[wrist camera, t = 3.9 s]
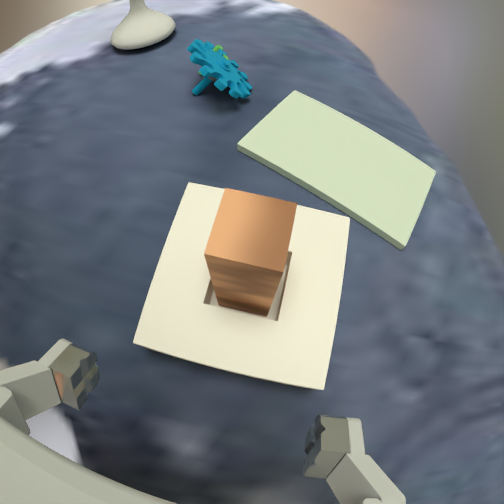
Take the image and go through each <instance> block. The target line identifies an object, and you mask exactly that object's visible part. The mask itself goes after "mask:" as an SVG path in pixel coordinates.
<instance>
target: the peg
mask: <svg viewBox="0 0 504 504" xmlns="http://www.w3.org/2000/svg"><path fill="white" fill-rule="evenodd" d="M296 208H297V203H293V202H289V201H285V200H280V199H276V198H271V197H266V196H262V195H257V194H252V193H248V192H243V191H238V190H233V189H228V188H225V190H224V193H223V196H222V199H221V202H220V205H219V208H218V211H217V214H216V218H215V221H214V224H213V227H212V230H211V233H210V236H209V239H208V242H207V246H206V249H205V252H204V256H205V259H206V263H207V267H208V270H209V274H210V277H211V281H212V284H213V288H214V291H215V295H216V298H217V302H218V305H219V306H222V307H226V308H230V309H234V310H238V311H243V312H247V313H251V314H255V315H260V316H264V317H267V315H268V312H269V310H270V307H271V305H272V302H273V299H274V297H275V294H276V291H277V289H278V286H279V283H280V280H281V278H282V275H283V272H284V268H285V263H286V258H287V253H288V248H289V244H290V239H291V234H292V229H293V224H294V219H295V213H296Z"/></svg>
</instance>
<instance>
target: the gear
mask: <svg viewBox="0 0 504 504" xmlns="http://www.w3.org/2000/svg"><path fill="white" fill-rule="evenodd" d="M213 48H214V45H213V44H211V43H210V42H208V41H207V42H206V43H203V42H202V41H201V40H198V39H196V40H195V41H194V42H193V43H192V44H191V45H190V46H189V47H188V48H187V50H188V51H189V52H191V53H193V54H192V55H191V56H190V60H191V61H192V62H193V63H195V64H199V65H201V66H203V67H202V68H201V69H200V70H199V74H200V75H203V77H205V78H204V79H203V80H202V81H201V82H200V83H199V84H198V85H197V86H196V87H195V88H194V89H193V90H192V92H193V93H194V94H195V95H198V94H199V93H200V92H201V91H203V90H204V89H205V88H206V87H207V86H208V85H209V84H210V83H211V82H212V81H214V82H215V81H216V82H215V83H214V85H215V86H216V87H217V88H218V89H219V90H220V91H223V90H224V89H225V88H226V87H227V86H229V87H230V89H231V90H230V91H229V94H230V95H231V96H232V97H234V98H236V99H237V98H238V97H240V96H241V98H247V97H248V96H249V95H251V94H250V92H249V90H250V89H252V86H251V85H250V84H249V83H248V82H246V80H247V79H248V78H247V75H246V74H245V73H244V72H241V71H239V70H237V68H238V67H239V65H238V64H237V63H236V62H235V61H234V60H232V61H230V60H229V58H228V57H227V56H226V55H227V54H226V53H225V52H224V51H223V48H222V47H221V46H220V45H217V46H216V47H215V48H214V49H213Z"/></svg>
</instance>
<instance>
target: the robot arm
mask: <svg viewBox="0 0 504 504" xmlns="http://www.w3.org/2000/svg"><path fill="white" fill-rule="evenodd" d="M96 362H97V356H96V354H95V353H94V352H92V351H89V350H87V349H85V348H83V347H81V346H78V345H76V344H74V343H72V342H69V341H67V340H65V339H60V340H59V341H58V342H57V343H56V344H55V345H54V346H53V347H52V348H51V349H50V350H49V351H48V352H47V353H46V354H45V355H44V356H43V357H42V358H41V359H40V360H39V361H38V362H37V361H31V362H28V363H24V364H21V365H17V366H14V367H10V368H7V369H3V370H0V504H177V503H173V502H170V501H167V500H164V499H161V498H158V497H155V496H152V495H149V494H147V493H144V492H141V491H138V490H136V489H133V488H131V487H128V486H126V485H123V484H121V483H118V482H116V481H114V480H111V479H109V478H107V477H104V476H102V475H100V474H98V473H96V472H94V471H91V470H89V469H87V468H85V467H83V466H81V465H79V464H77V463H75V462H73V461H71V460H70V459H68V458H66V457H64V456H62V455H60V454H58V453H57V452H55V451H53V450H51V449H50V448H48V447H46V446H45V445H43V444H41V443H40V442H38V441H36V440H35V439H33V438H31V437H30V436H29V434H30V429H29V428H28V425H27V423H26V421H25V420H26V419H29V418H31V417H33V416H35V415H37V414H39V413H41V412H43V411H45V410H47V409H50V408H52V407H54V406H56V405H58V404H60V403H61V402H63V403H65V404H67V405H69V406H71V407H73V408H76V409H78V410H80V408H81V407H82V406H83V404H84V403H85V401H86V400H87V393H89V392H92V391H93V390H94V389H95V387H96V386H97V383H98V380H99V369H98V367H97V366H96V364H95V363H96ZM305 452H306V453H307V457H306V459H305V460H304V474H303V476H310V477H317V478H326V481H327V482H328V484H329V486H330V488H331V489H332V491H333V493H334V494H335V496H336V498H337V499H338V501H339V503H340V504H406V501H405V496H404V495H403V494H402V493H401V492H400V491H399V489H398V488H397V487H396V486H395V485H394V484H393V483H392V481H391V480H390V479H389V478H388V477H387V476H386V474H385V473H384V472H383V471H382V470H381V469H380V467H379V466H378V465H377V464H376V463H375V462H374V460H373V459H372V458H371V457H370V456H369V455H365V449H364V441H363V433H362V425H361V420H360V419H356V418H347V417H346V418H345V417H340V416H332V415H324V414H318V415H317V417H316V419H315V426H313V427H311V428H310V430H309V432H308V434H307V437H306V442H305Z"/></svg>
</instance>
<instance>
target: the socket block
mask: <svg viewBox="0 0 504 504" xmlns="http://www.w3.org/2000/svg"><path fill="white" fill-rule="evenodd" d="M224 190H225V189H221V188H216V187H210V186H205V185H200V184H195V183H188V185H187V188H186V190H185V193H184V195H183V198H182V200H181V203H180V206H179V208H178V211H177V213H176V216H175V219H174V221H173V224H172V226H171V229H170V232H169V235H168V237H167V240H166V243H165V246H164V248H163V251H162V254H161V257H160V260H159V263H158V265H157V268H156V271H155V274H154V277H153V280H152V283H151V286H150V289H149V292H148V295H147V298H146V301H145V304H144V308H143V311H142V314H141V317H140V320H139V324H138V327H137V330H136V334H135V337H134V340H133V343H135V344H138V345H140V346H143V347H145V348H148V349H151V350H154V351H157V352H160V353H164V354H167V355H170V356H173V357H177V358H180V359H184V360H187V361H191V362H194V363H198V364H201V365H205V366H209V367H213V368H216V369H220V370H224V371H228V372H232V373H236V374H241V375H245V376H249V377H254V378H258V379H263V380H267V381H272V382H277V383H282V384H287V385H292V386H298V387H303V388H309V389H318V390H324V385H325V380H326V375H327V370H328V365H329V360H330V355H331V350H332V344H333V339H334V333H335V327H336V321H337V315H338V309H339V302H340V296H341V289H342V282H343V274H344V267H345V259H346V250H347V242H348V232H349V223H350V218H349V217H345V216H341V215H337V214H333V213H329V212H325V211H321V210H317V209H312V208H308V207H304V206H300V205H297V208H296V213H295V219H294V224H293V229H292V234H291V239H290V244H289V248H288V253H287V258H286V263H285V268H284V272H283V275H282V278H281V280H280V283H279V286H278V289H277V291H276V294H275V297H274V299H273V302H272V305H271V307H270V310H269V312H268V315H267V317H264V316H260V315H255V314H251V313H247V312H243V311H238V310H234V309H230V308H226V307H222V306H219V305H218V302H217V298H216V295H215V291H214V288H213V284H212V281H211V277H210V274H209V270H208V267H207V263H206V259H205V256H204V252H205V249H206V246H207V242H208V239H209V236H210V233H211V230H212V227H213V224H214V221H215V218H216V214H217V211H218V208H219V205H220V202H221V199H222V196H223V193H224Z"/></svg>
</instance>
